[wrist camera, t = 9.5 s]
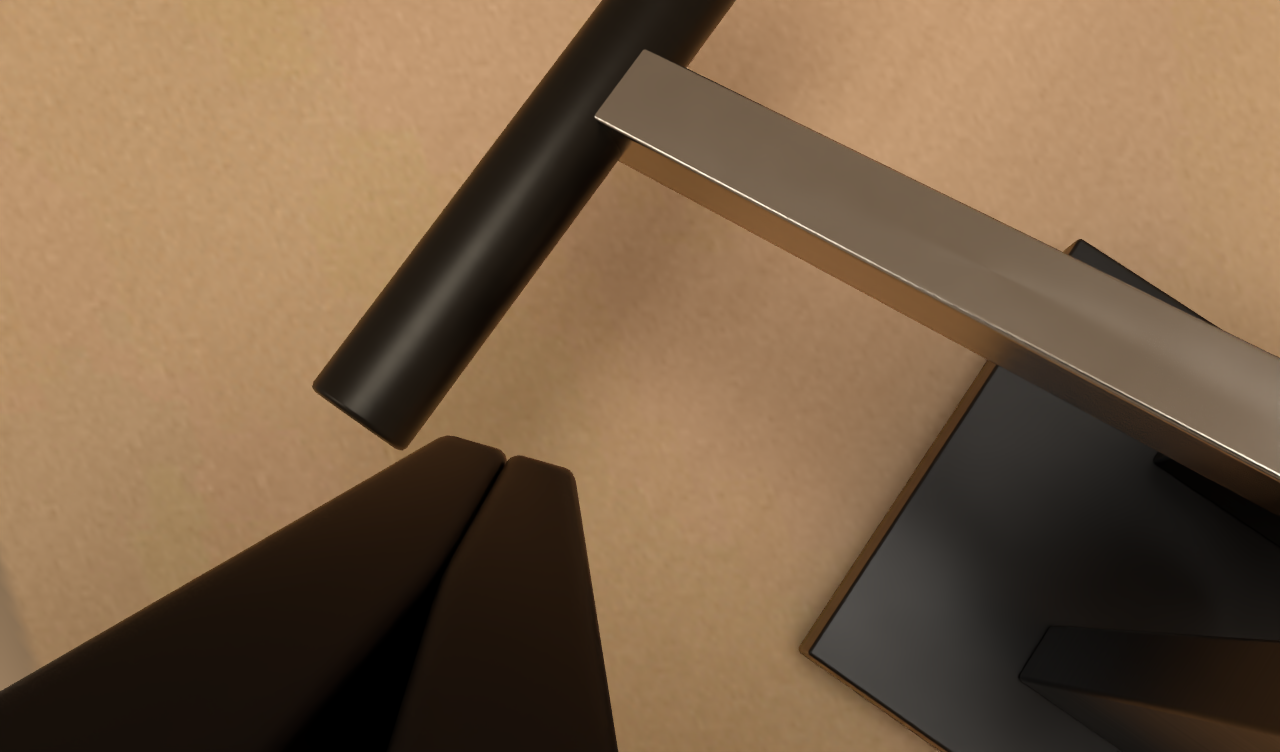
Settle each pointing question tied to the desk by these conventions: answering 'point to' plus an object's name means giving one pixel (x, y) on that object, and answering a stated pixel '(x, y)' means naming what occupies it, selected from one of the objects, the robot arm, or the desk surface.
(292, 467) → the desk surface
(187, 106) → the desk surface
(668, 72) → the lever handle
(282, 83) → the desk surface
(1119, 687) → the bracket
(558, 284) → the desk surface
